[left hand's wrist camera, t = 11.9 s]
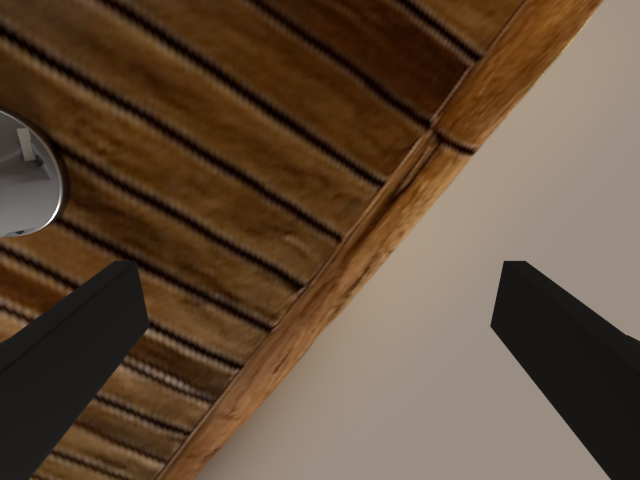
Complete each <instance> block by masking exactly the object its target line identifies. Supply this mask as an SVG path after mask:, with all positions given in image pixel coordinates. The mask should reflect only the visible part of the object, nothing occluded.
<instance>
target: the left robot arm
mask: <svg viewBox="0 0 640 480" xmlns="http://www.w3.org/2000/svg"><path fill="white" fill-rule="evenodd" d="M68 196H69V180H68V174H67V171H66V167H65V165H64V162H63V160H62V158H61V156H60V154H59V152H58V150H57V149H56V147H55V146H54V144H53V143H52V142H51V141H50V139H49V138H48V137H47V136H46V135H45V134H44V133H43V132H42V131H41V130H40V129H39V128H38V127H37V126H35V125H34V124H33V123H32V122H30V121H29V120H27V119H26V118H24V117H22V116H21V115H19V114H17V113H15V112H13V111H10V110H7V109H5V108H1V107H0V237H12V236H20V235H26V234H30V233H33V232H36V231H38V230H40V229H43V228H45V227H47V226H49V225H50V224H52V223H53V222H54V221H56V220H57V219H58V218H59V217H60V215H61V214H62V212H63V211H64V209H65V207H66V204H67V201H68ZM149 327H150V326H149V321H148V316H147V311H146V306H145V302H144V297H143V292H142V287H141V282H140V278H139V273H138V268H137V263H136V261H114V262H113V263H111V264H110V265H108V266H107V267H106V268H104V269H103V270H102V271H100V272H99V273H98V274H96V275H95V276H94V277H92V278H91V279H89V280H88V281H87V282H85V283H84V284H83V285H81V286H80V287H79V288H77V289H76V290H75V291H73V292H72V293H70V294H69V295H68V296H66V297H65V298H64V299H62V300H61V301H60V302H58V303H57V304H56V305H54V306H53V307H51V308H50V309H49V310H47V311H46V312H45V313H43V314H42V315H41V316H39V317H38V318H36V319H35V320H34V321H32V322H31V323H30V324H28V325H27V326H26V327H24V328H23V329H22V330H20V331H19V332H17V333H16V334H15V335H13V336H12V337H11V338H9V339H7V340H5V341H3V342H1V343H0V480H29V479H30V478H31V477H32V475H33V474H34V473H35V471H36V470H37V469H38V468H39V466H40V465H41V464H42V463H43V461H44V460H45V459H46V458H47V456H48V455H49V454H50V452H51V451H52V450H53V449H54V447H55V446H56V445H57V444H58V442H59V441H60V440H61V438H62V437H63V436H64V435H65V433H66V432H67V431H68V430H69V428H70V427H71V426H72V424H73V423H74V422H75V421H76V419H77V418H78V417H79V416H80V414H81V413H82V412H83V410H84V409H85V408H86V407H87V405H88V404H89V403H90V402H91V400H92V399H93V398H94V396H95V395H96V394H97V393H98V391H99V390H100V389H101V388H102V386H103V385H104V384H105V382H106V381H107V380H108V379H109V377H110V376H111V375H112V374H113V372H114V371H115V370H116V369H117V367H118V366H119V365H120V363H121V362H122V361H123V360H124V358H125V357H126V356H127V355H128V353H129V352H130V351H131V349H132V348H133V347H134V346H135V344H136V343H137V342H138V341H139V339H140V338H141V337H142V335H143V334H144V333H145V332H146V330H147V329H148V328H149ZM491 328H492V329H493V330H494V332H495V333H496V334H497V335H498V337H499V338H500V339H501V341H502V342H503V343H504V344H505V346H506V347H507V348H508V349H509V351H510V352H511V353H512V355H513V356H514V357H515V358H516V360H517V361H518V362H519V363H520V365H521V366H522V367H523V369H524V370H525V371H526V372H527V374H528V375H529V376H530V377H531V379H532V380H533V381H534V382H535V384H536V385H537V386H538V388H539V389H540V390H541V391H542V393H543V394H544V395H545V396H546V398H547V399H548V400H549V402H550V403H551V404H552V405H553V407H554V408H555V409H556V410H557V412H558V413H559V414H560V416H561V417H562V418H563V419H564V421H565V422H566V423H567V424H568V426H569V427H570V428H571V430H572V431H573V432H574V433H575V435H576V436H577V437H578V438H579V440H580V441H581V442H582V444H583V445H584V446H585V447H586V449H587V450H588V451H589V452H590V454H591V455H592V456H593V457H594V459H595V460H596V461H597V463H598V464H599V465H600V466H601V468H602V469H603V470H604V471H605V473H606V474H607V475H608V477H609V478H610V479H611V480H640V341H638V340H636V339H634V338H632V337H630V336H628V335H625V334H624V333H623V332H621V331H620V330H618V329H617V328H616V327H614V326H613V325H612V324H610V323H609V322H608V321H606V320H605V319H603V318H602V317H601V316H599V315H598V314H597V313H595V312H594V311H593V310H591V309H590V308H589V307H587V306H586V305H584V304H583V303H582V302H580V301H579V300H578V299H576V298H575V297H574V296H572V295H571V294H570V293H568V292H567V291H565V290H564V289H563V288H561V287H560V286H559V285H557V284H556V283H555V282H553V281H552V280H550V279H549V278H548V277H546V276H545V275H544V274H542V273H541V272H540V271H538V270H537V269H536V268H534V267H533V266H531V265H530V264H529V263H527V262H526V261H504V263H503V268H502V273H501V278H500V282H499V287H498V292H497V297H496V302H495V306H494V311H493V316H492V321H491Z"/></svg>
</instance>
